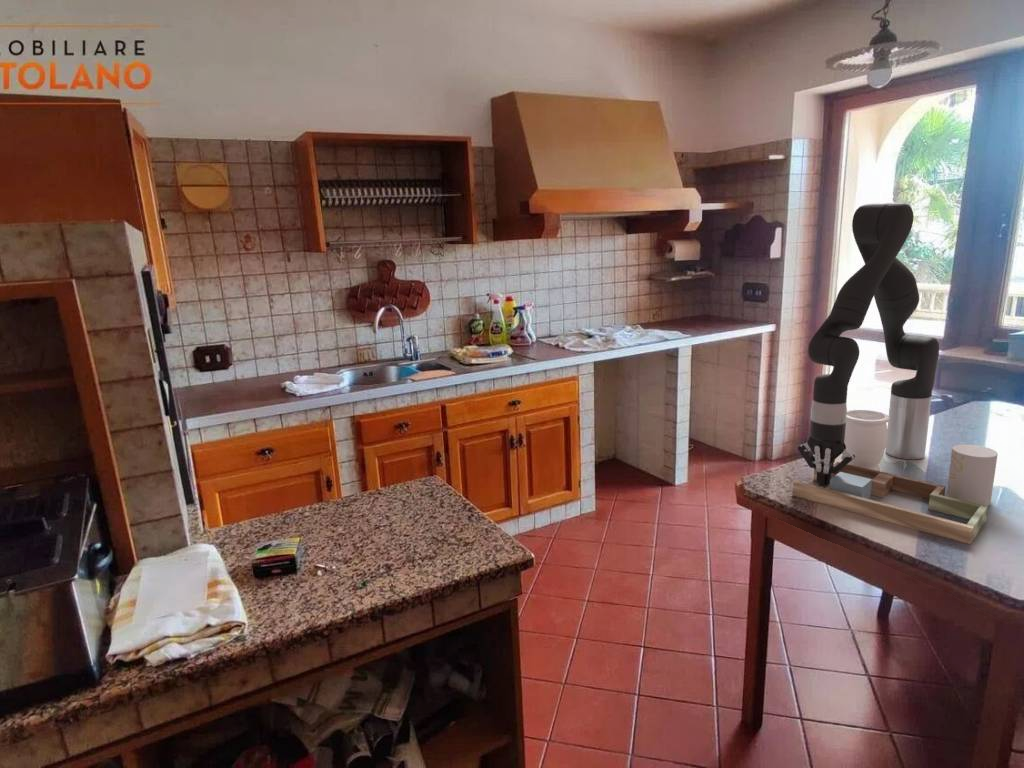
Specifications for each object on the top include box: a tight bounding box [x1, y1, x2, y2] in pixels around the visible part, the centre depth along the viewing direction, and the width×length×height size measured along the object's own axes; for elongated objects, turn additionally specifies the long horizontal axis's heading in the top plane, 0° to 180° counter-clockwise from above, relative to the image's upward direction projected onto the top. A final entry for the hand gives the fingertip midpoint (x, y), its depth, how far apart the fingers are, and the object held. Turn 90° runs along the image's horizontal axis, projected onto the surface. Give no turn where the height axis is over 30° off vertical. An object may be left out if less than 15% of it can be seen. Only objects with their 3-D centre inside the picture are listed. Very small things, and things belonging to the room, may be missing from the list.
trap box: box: [792, 461, 989, 545], centre depth 137 cm, size 19×35×4 cm, turn 41°
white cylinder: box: [945, 443, 998, 507], centre depth 135 cm, size 8×8×12 cm
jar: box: [844, 409, 889, 472], centre depth 155 cm, size 11×10×15 cm
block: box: [828, 472, 872, 500], centre depth 140 cm, size 6×7×5 cm
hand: (823, 485), depth 145 cm, fingers closed
